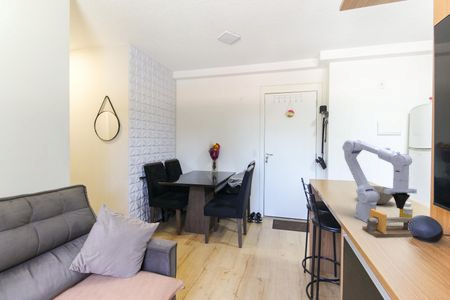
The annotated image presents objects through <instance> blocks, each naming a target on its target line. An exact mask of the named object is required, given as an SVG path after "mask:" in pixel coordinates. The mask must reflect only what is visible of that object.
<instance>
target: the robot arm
mask: <svg viewBox="0 0 450 300" xmlns="http://www.w3.org/2000/svg"><path fill="white" fill-rule="evenodd" d="M342 150H343V152H344V153H343V154H344V155H343V156H344V160H345V162H346V164H347V167H348V169H349V171H350V172H351V176H352V178H353V179H354V182H355V184H356V186H358V187H357V188H356V191H355V192H356V194H357V200H358V201H357V203H356V204H355V214H354V215H353V216H354V217H355V218H357V219H359V220H361V221H362V222H365V223H367V219H368V218H370V209H375V210H377V204H376V203H377V201H378V200H379V198H380V196H379V193H378V192H377V191H376V190H375V189H374V187H372V186H373V185H371V184H370V183H369V182H368V179H367V178H366V175H365V174H364V171H363V170H362V169H363V168H362V167H361V165H360V164H359V161H358V159H357V157H358V156H359V155H360V154H361V152H362V151H366V152H369V153H372V154H375V155H376V156H377V158H378V159H380V160H382V161H385V162H387V163H390V164H391V165H392V168H393V173H392V174H393V178H392V187H389V188H390V189H384V193H386V194H391V195H392V196H393V197H392V198H393V199H394V202H395V206H396V208H397V209H399V210H400V209H403V208H404V205H405V203H406V202H408V200H409V198H410V197H411V194H417V189H416V188H409V183H410V181H409V180H410V179H409V178H410V166H411V164H412V163H413V159H412V157H411V156H410V155H408V154H406V153H403V154H401V153H400V152H399V151H394V150H392V149H391V148H390V147H383V148H379V147H377V146H375V145H373V144H370V143H368V142H365V141H362V140H360V139H359V140H348V139H347V140H346V141H344V142H343V145H342Z"/></svg>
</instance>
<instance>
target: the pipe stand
mask: <svg viewBox="0 0 450 300" xmlns="http://www.w3.org/2000/svg"><path fill="white" fill-rule="evenodd" d="M411 219H412V220H413V217H412V218H410V217H399V216H398V217H397V216H396V217H389V216H388V217H386V224H387V223H388V224H391V223H393V224H394V223H395V224H397V223H398V224H399V223H403V224H402V225H386V232H384V233H382V232H380V231H379V230H377V229H376V223H379V218H377V217H376V218H368V219H367V222H366V226H365V225H363V226H362V228H361V229H362V231H364V232H366V233H368V234H370V235H371V236H373V237H374V238H376V239H378V238H380V239H381V238H409V237H410V238H412V237H413V236H412V234H411V233H410V232H409V230H408V223H409V221H410V220H411Z"/></svg>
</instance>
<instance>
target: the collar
mask: <svg viewBox="0 0 450 300" xmlns="http://www.w3.org/2000/svg"><path fill="white" fill-rule="evenodd" d="M387 216H388V214H386V213H383V212H382V211H379V210H377V209H376V210H375V209H370V218H376V217H377V218H379V223H376V229H377V230H379V231H380V232H382V233H384V232H386V226H387V223H386V217H387Z"/></svg>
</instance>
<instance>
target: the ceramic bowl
mask: <svg viewBox="0 0 450 300" xmlns="http://www.w3.org/2000/svg"><path fill="white" fill-rule="evenodd" d="M356 186H357V185H356ZM371 186H372V187H374V189H375V190H376V191H377V192H378V193H379V196H380V198H379V200H378V201H377V203H376V205H385V204H386V203H388V202H390V200H392V198H393V196H392V195H391V194H386V193H384V189H390V188H391V187H386V186H382V185H381V186H379V185H378V186H377V185H371ZM357 188H358V186H357Z"/></svg>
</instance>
